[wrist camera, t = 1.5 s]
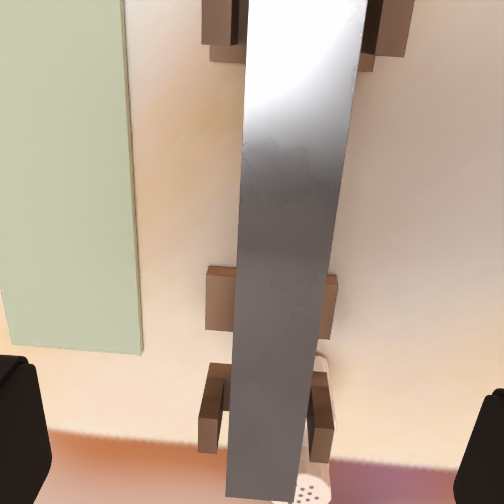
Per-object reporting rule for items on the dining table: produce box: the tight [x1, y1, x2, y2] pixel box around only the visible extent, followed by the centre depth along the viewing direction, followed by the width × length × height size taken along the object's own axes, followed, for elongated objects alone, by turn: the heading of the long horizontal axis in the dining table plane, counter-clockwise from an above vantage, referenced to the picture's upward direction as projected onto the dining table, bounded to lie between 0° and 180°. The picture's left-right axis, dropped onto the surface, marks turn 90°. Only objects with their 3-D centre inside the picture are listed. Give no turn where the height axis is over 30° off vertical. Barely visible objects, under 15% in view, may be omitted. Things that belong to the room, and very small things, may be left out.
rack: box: [198, 0, 415, 464], centre depth 21 cm, size 8×20×12 cm, turn 177°
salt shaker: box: [272, 355, 337, 504], centre depth 28 cm, size 4×4×10 cm
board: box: [0, 0, 143, 355], centre depth 26 cm, size 9×26×1 cm, turn 177°
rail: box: [225, 0, 367, 503], centre depth 17 cm, size 22×3×3 cm, turn 177°
